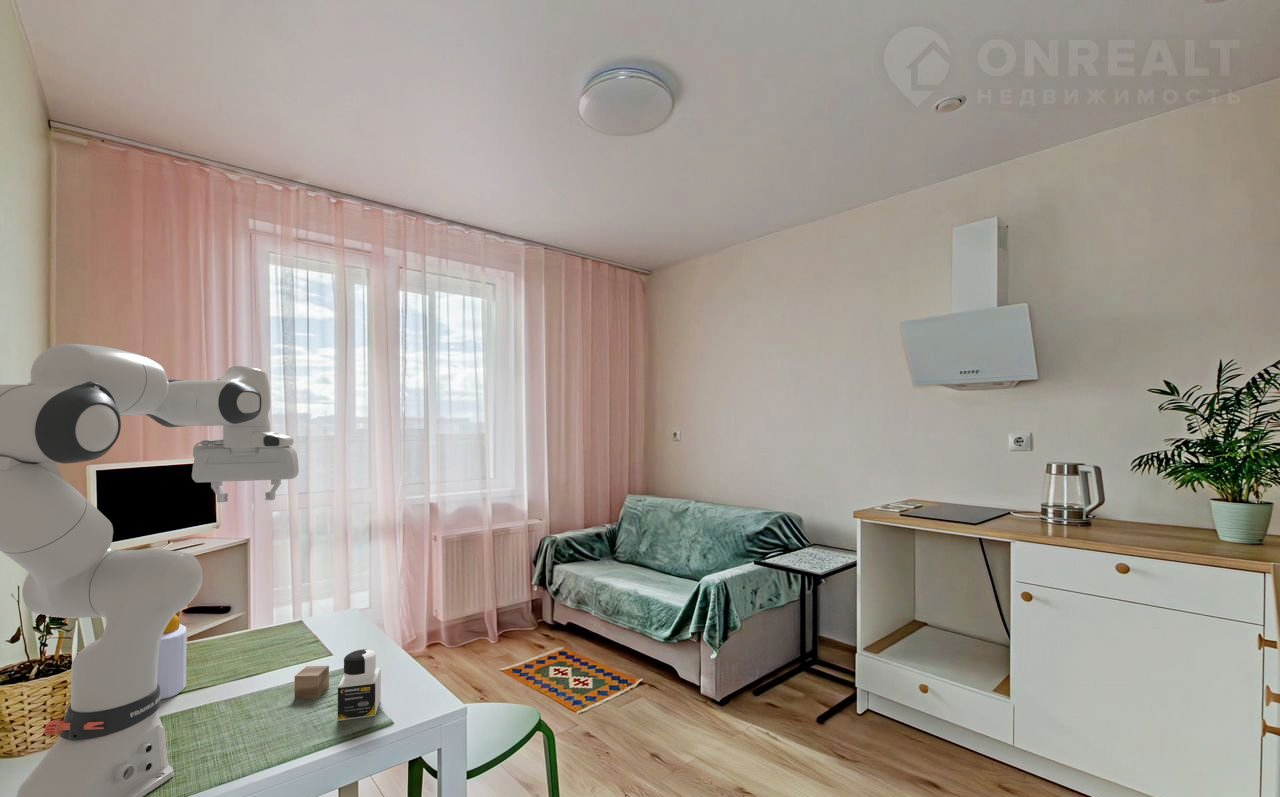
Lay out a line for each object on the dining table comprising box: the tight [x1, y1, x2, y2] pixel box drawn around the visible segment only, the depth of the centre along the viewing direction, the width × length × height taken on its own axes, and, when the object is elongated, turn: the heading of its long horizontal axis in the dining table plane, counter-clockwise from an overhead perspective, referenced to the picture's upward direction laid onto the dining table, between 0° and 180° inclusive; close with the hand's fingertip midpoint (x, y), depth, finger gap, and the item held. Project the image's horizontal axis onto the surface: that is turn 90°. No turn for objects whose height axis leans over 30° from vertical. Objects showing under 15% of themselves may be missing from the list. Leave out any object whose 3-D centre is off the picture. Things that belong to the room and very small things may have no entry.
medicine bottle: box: [337, 648, 382, 722], centre depth 123 cm, size 7×7×12 cm
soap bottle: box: [157, 614, 188, 701], centre depth 133 cm, size 13×8×20 cm, turn 46°
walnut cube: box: [294, 665, 330, 700], centre depth 131 cm, size 5×5×5 cm
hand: (246, 500), depth 132 cm, fingers open, 8 cm apart
